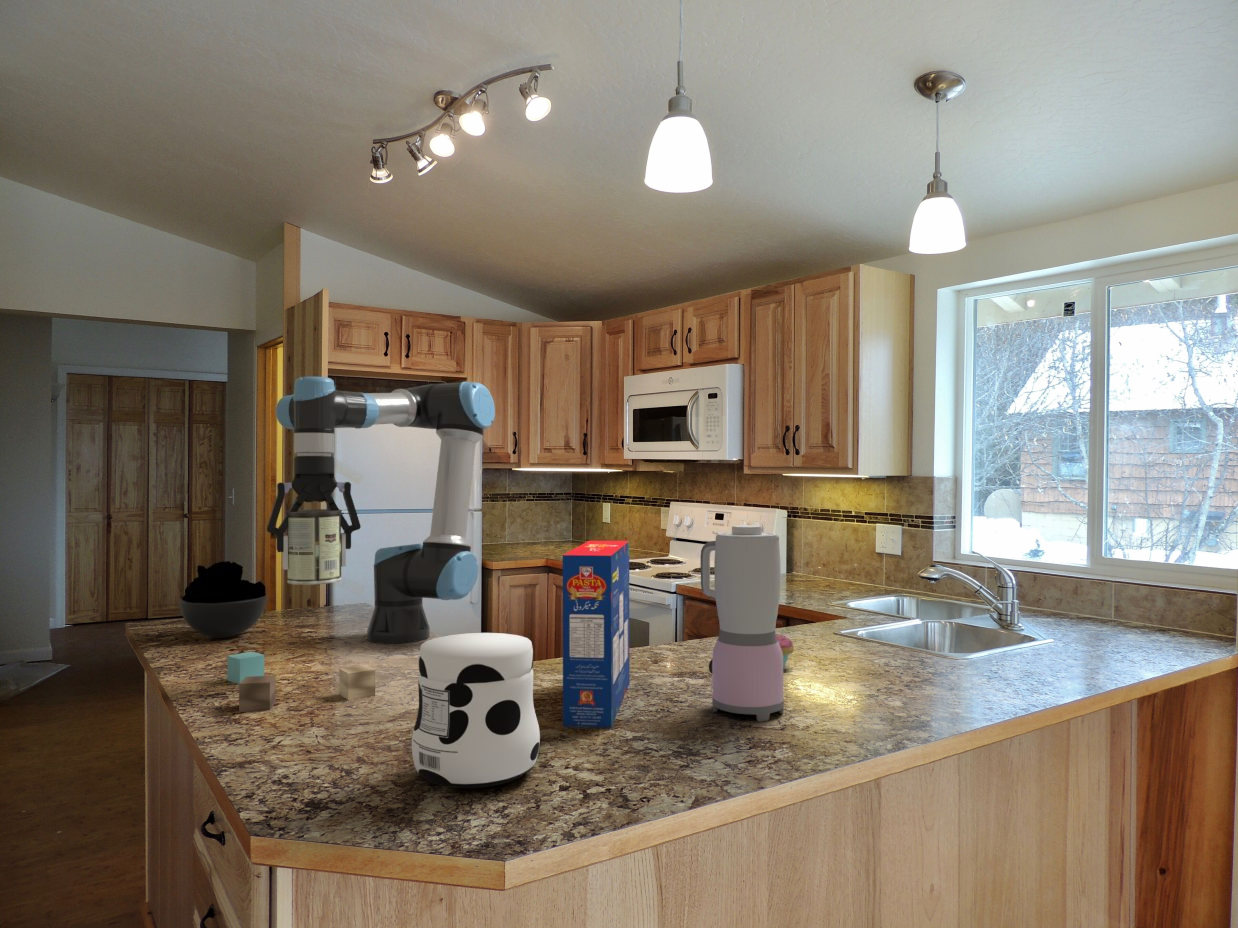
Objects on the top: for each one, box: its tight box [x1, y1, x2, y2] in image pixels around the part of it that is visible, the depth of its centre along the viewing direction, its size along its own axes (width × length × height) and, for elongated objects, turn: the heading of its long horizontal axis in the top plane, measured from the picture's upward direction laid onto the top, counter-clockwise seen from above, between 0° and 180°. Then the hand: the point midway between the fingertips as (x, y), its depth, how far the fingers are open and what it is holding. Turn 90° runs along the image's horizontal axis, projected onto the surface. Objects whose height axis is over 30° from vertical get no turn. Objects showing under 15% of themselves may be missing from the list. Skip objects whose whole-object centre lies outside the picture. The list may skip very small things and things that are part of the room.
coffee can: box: [285, 508, 342, 586], centre depth 164 cm, size 10×10×14 cm
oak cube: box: [338, 664, 376, 701], centre depth 154 cm, size 5×5×5 cm
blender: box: [699, 524, 785, 722], centre depth 144 cm, size 16×12×32 cm
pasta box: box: [562, 540, 631, 729], centre depth 148 cm, size 28×8×28 cm, turn 173°
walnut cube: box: [238, 674, 277, 713], centre depth 146 cm, size 5×5×5 cm
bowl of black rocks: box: [178, 560, 268, 639], centre depth 208 cm, size 20×20×19 cm
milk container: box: [411, 632, 541, 789], centre depth 113 cm, size 17×17×18 cm
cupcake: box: [775, 633, 795, 670], centre depth 174 cm, size 9×8×12 cm
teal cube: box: [226, 651, 265, 685], centre depth 165 cm, size 5×5×5 cm
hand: (314, 567), depth 164 cm, fingers closed on coffee can, 10 cm apart
